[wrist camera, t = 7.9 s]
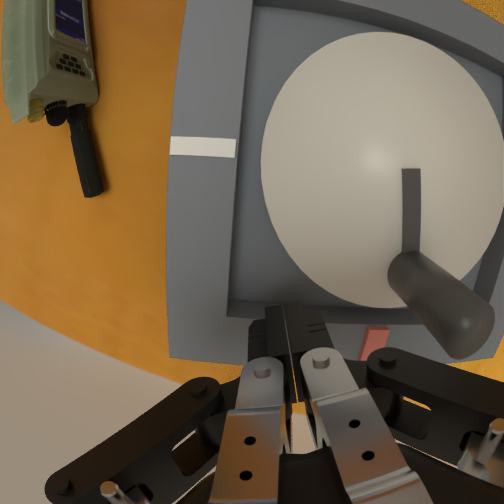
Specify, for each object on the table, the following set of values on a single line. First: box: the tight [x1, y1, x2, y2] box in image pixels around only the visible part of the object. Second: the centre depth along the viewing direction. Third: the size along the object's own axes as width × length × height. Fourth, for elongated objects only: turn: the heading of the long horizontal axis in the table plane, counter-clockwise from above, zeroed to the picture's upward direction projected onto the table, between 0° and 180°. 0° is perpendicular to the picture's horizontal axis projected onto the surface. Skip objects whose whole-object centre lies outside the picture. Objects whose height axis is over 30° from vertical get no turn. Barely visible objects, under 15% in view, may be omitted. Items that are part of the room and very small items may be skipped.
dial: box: [260, 32, 504, 360], centre depth 11 cm, size 14×14×8 cm
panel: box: [166, 0, 504, 368], centre depth 15 cm, size 22×22×4 cm
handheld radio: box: [2, 0, 104, 198], centre depth 11 cm, size 7×3×25 cm
